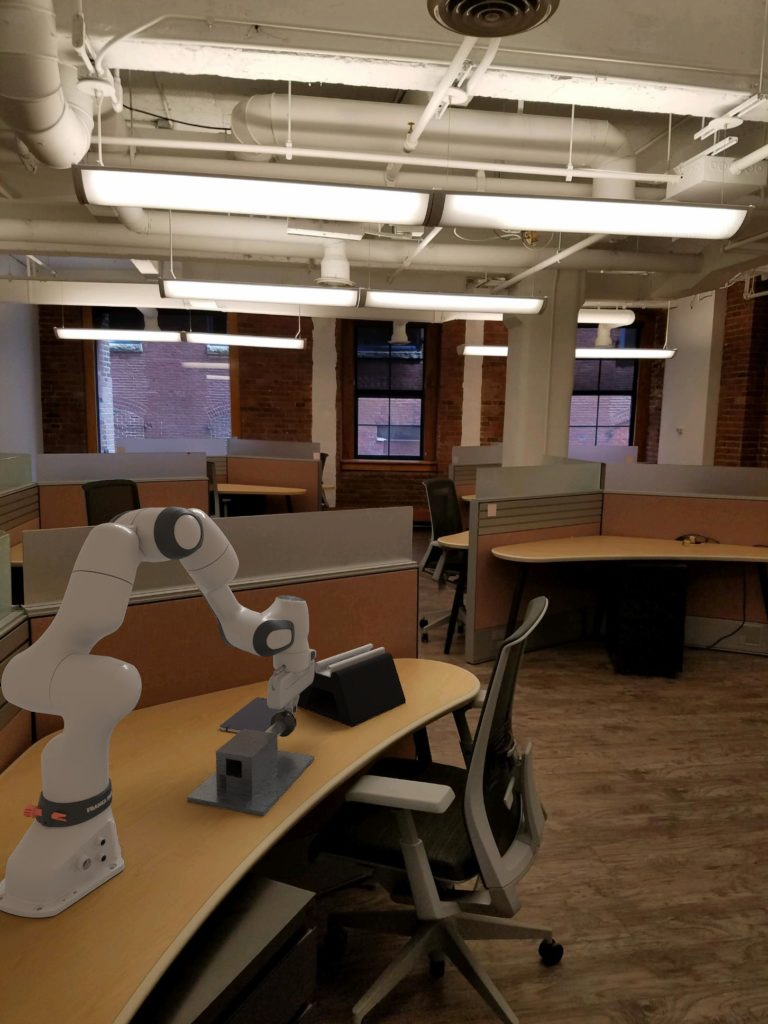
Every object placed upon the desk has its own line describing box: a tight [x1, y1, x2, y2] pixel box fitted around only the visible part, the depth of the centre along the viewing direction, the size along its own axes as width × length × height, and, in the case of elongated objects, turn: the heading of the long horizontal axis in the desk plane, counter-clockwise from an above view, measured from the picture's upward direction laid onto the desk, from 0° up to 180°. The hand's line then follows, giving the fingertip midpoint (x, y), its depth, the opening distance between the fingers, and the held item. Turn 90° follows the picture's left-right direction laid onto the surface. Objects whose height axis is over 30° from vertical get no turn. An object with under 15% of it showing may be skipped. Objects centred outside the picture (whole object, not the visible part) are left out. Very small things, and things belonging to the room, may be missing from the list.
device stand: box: [297, 643, 407, 728], centre depth 203 cm, size 22×22×15 cm
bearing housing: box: [186, 729, 315, 817], centre depth 159 cm, size 26×18×10 cm
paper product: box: [219, 697, 286, 734], centre depth 194 cm, size 13×2×21 cm
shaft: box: [241, 710, 297, 762], centre depth 165 cm, size 20×6×6 cm, turn 162°
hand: (291, 712), depth 177 cm, fingers closed
